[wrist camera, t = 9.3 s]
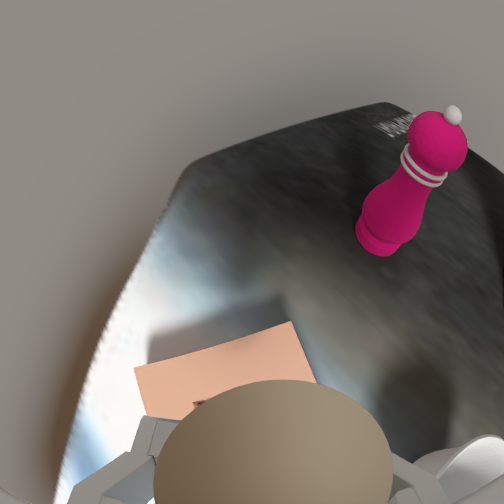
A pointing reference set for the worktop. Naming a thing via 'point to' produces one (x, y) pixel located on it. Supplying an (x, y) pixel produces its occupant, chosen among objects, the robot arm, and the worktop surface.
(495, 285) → the worktop surface
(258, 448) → the maple pin
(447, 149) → the pepper mill
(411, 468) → the robot arm
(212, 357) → the socket block
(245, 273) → the worktop surface
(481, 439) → the teacup
